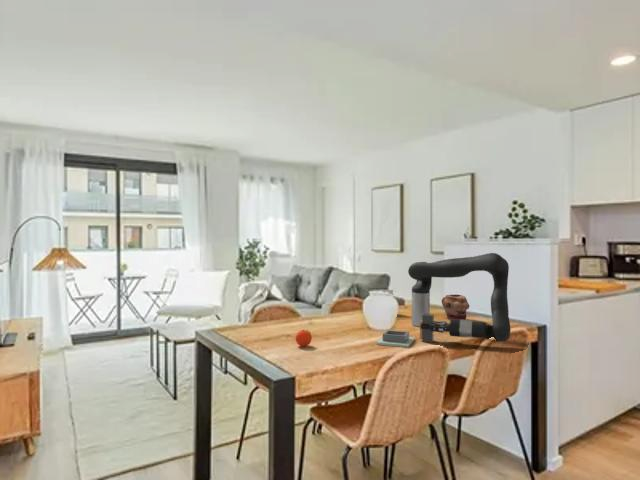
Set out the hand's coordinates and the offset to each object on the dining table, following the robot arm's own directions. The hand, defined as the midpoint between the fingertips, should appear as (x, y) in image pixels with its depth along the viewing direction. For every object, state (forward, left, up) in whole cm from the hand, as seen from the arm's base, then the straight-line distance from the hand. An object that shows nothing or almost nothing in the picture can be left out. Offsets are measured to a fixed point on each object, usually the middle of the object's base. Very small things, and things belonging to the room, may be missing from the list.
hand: (421, 325), depth 207 cm
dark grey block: (0, +3, -7) cm, 8 cm away
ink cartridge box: (-60, -31, -7) cm, 68 cm away
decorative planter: (-58, +9, -7) cm, 59 cm away
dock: (+7, -10, -7) cm, 14 cm away
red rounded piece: (+29, -45, -7) cm, 54 cm away
